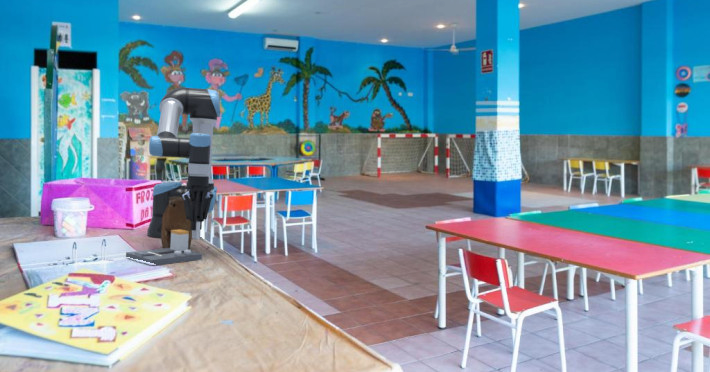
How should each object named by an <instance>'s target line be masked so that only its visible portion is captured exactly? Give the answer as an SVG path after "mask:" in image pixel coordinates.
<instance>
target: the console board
mask: <svg viewBox="0 0 710 372" xmlns="http://www.w3.org/2000/svg"><path fill="white" fill-rule="evenodd" d="M202 255H203V254H202V253H199V252H195V251H192V249H188V250H184V251H175V250H171V249H170V248H163V247H162V248H155V249H147V250H146V249H145V250H136V251H128V252H125V258H126V257H130V258H133V259H138V260H143V261H146V262H150V263H154V264H156V266H162V265H163V266H164V265H169V264H174V263H175V264H177V263H178V264H179V263H185V262H191V261H199V260H200V259H201V260H202V258H203V256H202Z"/></svg>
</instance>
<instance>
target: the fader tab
mask: <svg viewBox="0 0 710 372" xmlns="http://www.w3.org/2000/svg"><path fill="white" fill-rule="evenodd" d="M188 238H189V231H186V230H181V229H179V230H171V245H170V249H171V250H175V251H184V250H189V248H188Z"/></svg>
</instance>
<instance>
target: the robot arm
mask: <svg viewBox="0 0 710 372" xmlns="http://www.w3.org/2000/svg"><path fill="white" fill-rule="evenodd" d="M220 103H221V102H220V94H219V92H218V91H217V90H215V89H209V88H197V87H194V88H193V87H185V86H184V87H183V86H182V87H177V88H174V89H171V90H170V91H169V92H167V93H166V94H165V95H164V96H163V97H162V98H161V100H160V103H159V112H160V118H159V123H158V127H157V132H156V135H152V136H150V138H149V142H148V143H149V144H148V146H149V147H148V149H149V155H150V156H154V157H161V158H162V157H164V158H165V157H168V158H186V159H188V165H187V166H188V169H187V171H188V172H187V173H188V174H189V175H188V176H187V180H186V185H183V184H182V182H181V181H173V182H172V181H169V182H168V181H167V182H161V183H156V184H155V185H154V186H153V190H152V191H153V192H152V213H151V219H150V223H149V225H148V228H147V230H146V231H147V236H148V237H149V238H150V237H151V238H159V239H161V230H162V217H163V214H164V212H165V210H166V208H167V206H168V204H169V198H170V197H177V196H178V197H182V199H183V202H184V208H185V214H186V219H187V220H190V221H191V230H192V240H200V238H201V237H200V236H201V230H202V226H203V222H204V221H205V220H207V219H208V214H209V213H213V210H214V208H215V202H216V197H217V190H218V187H217V186H216V185H215V182H214V180H213V179H212V158H213V157H212V156H213V154H212V153H213V139H214V138H213V136H214V135H213V133H214V125H215V123H216V122H217V121H218V118H220V117H221V105H220ZM182 115H185V116H186V115H187V116H188V115H189V120H190V122H192V133H190V134H189V137H178V133H179V127H180V120H181V119H180V117H181V116H182ZM189 198H190V199H189ZM190 202H191V203H190Z"/></svg>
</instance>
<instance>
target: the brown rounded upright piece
mask: <svg viewBox="0 0 710 372" xmlns="http://www.w3.org/2000/svg"><path fill="white" fill-rule="evenodd" d="M189 199H190V198H189ZM190 203H191V202H190ZM179 229H181V230H186V231H189V238H188V249H189V248H190V247H191V245H192V240H193V239H192V230H191V221H190V220H187V219H186V214H185V208H184V202H183V199H182V197H178V196H177V197H170V198H169V204H168V206H167V208H166V210H165V212H164V214H163V217H162V230H161V238H160V239H161V245H162V248H170V245H171V230H179Z"/></svg>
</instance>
